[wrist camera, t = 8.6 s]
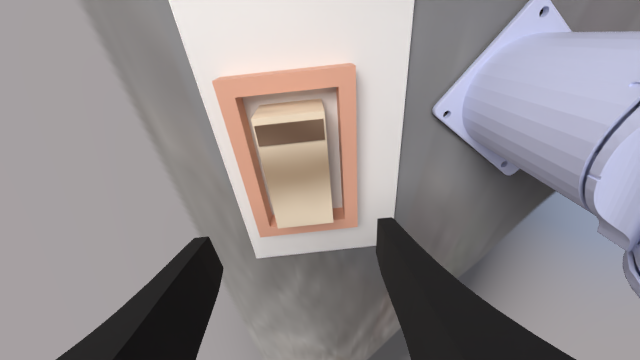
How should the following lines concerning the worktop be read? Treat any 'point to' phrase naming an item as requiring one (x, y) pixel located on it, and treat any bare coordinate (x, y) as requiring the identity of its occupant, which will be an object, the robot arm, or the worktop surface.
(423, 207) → the worktop surface
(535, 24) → the robot arm
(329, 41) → the white mat
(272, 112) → the maple block
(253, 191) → the terracotta frame
